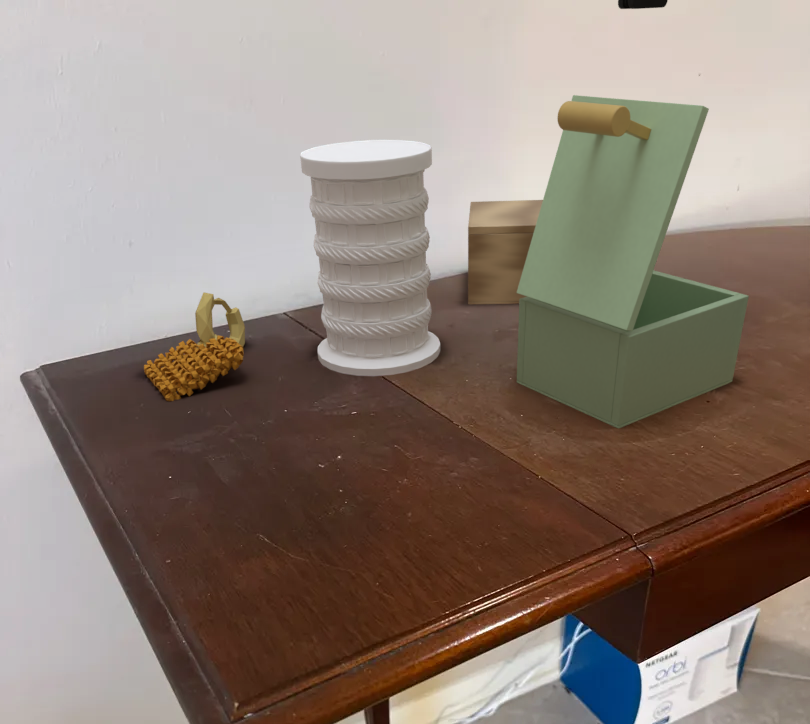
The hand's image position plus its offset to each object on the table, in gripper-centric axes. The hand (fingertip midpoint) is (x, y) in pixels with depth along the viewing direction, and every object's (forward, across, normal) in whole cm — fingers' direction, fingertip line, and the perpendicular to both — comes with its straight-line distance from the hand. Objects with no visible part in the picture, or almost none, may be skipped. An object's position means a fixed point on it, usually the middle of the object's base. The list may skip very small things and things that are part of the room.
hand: (642, 7), depth 58 cm
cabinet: (+27, +21, -8) cm, 35 cm away
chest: (+27, -5, +2) cm, 27 cm away
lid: (+12, -5, +6) cm, 15 cm away
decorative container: (+27, +14, +16) cm, 34 cm away
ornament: (+28, +19, +31) cm, 45 cm away
